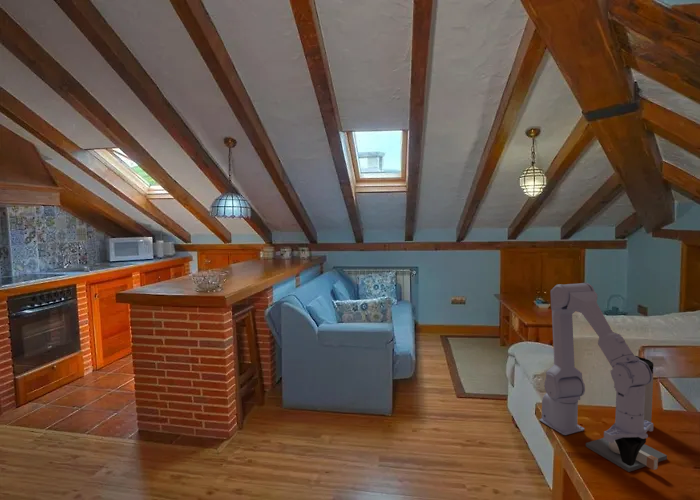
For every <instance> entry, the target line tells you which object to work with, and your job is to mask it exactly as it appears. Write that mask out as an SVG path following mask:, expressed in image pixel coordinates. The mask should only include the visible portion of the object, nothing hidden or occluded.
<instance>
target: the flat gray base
mask: <svg viewBox="0 0 700 500" xmlns="http://www.w3.org/2000/svg"><path fill="white" fill-rule="evenodd" d="M585 448H588V449H589V450H591V451H593V452H594V453H596V454H598V455H599V456H601V457H602V458H604V459H606V460H607V461H609V462H611V463H612V464H615V465H616V466H617V467H619V468H621V469H623V470H625V471H626V472H628V473H630V472H633V471H635V470H640V469H642V468H644V467H647V466H646V465H644V464H642V463H641V462H639V461H637V460H635V463H634V465H632V466H629V465H627V464H625V463H623V462H622V459H621V455H620V454H617V453H615V452H613V451H611V450H610V449H609V442H608V441H606V440H605V439H604V437H602V438H599V439H596V440H591V441H588V442H585ZM640 450H641V451H643V452H645V453H647V454H649V455H652V456H654V457H656V458H658V463H660V462H663V461H666V460H668V455H667V454H665V453H663V452H661V451H659V450H657V449H656V448H653V447H652V446H649V445H647V444H646V443H645V444H644V445H643V446H642V447H641V449H640Z"/></svg>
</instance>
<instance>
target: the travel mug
mask: <svg viewBox="0 0 700 500" xmlns="http://www.w3.org/2000/svg"><path fill="white" fill-rule="evenodd" d="M635 356H636V357H638V358H639V359H640V360H642V361H644V362H645V363H646V364H648V366H649V368H650V370H651V372H652V380H651V382H650V383H649V384H647V385H642V386H645V406H644V420H647V421H649V422H651V423H652V418H653V417H652V416H653V415H652V413H653V412H652V410H653V390H654V388H653V387H654V385H653V384H654V362H653V361H651V360H650V359H647V358H644V357H641V356H640V357H639V355H635Z"/></svg>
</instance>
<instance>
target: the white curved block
mask: <svg viewBox="0 0 700 500" xmlns="http://www.w3.org/2000/svg"><path fill="white" fill-rule="evenodd" d="M609 449H610V450H611V451H613V452H615V453H617V454H620V451H619V448H618V446H617V444H616V442H615V440H614V443H610V442H609ZM636 460H637V461H639V462H641V463H642V464H644V465H646V466H645V467H647V468H649V469H651V470H653V471H654V470H655V471H656V470H657V469H659V462H658V458H656V457H654V456H652V455H649V454H647V453H645V452H643V451H641V450H640V451H639V453H638V455H637V458H636Z"/></svg>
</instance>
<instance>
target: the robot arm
mask: <svg viewBox="0 0 700 500" xmlns="http://www.w3.org/2000/svg"><path fill="white" fill-rule="evenodd" d="M597 300H598V293H596V291H595V289H594V287H593V286H592V285H591V284H590V283H588V282H581V283H567V284H562V283H561V284H560V283H559V284H558V283H557V284H556V285H554V287H552V289H550V310H551V325H552V344H553V365H552V366H551V367H550V368H549V369H547V370H546V372H545V380H544V383H543V384H544V390H545V394H543V397H542V399H541V418H539V421H540V422H541V423H543V424H544V425H546V426H548V427H550V428H551V429H552V430H555V431H556V432H558V433H559V434H561V435H563V436H568V435H571V434H575V433H579V432H583V431H585V427H583V426H581V425H579V424H578V418H579V417H578V413H579V411H578V410H579V408H578V407H579V401H580V400H581V397H582V396H584V395H585V392H586V385H585V382H584V379H583V373H582V372H581V371H580V370H579V369H578V368H576V367H575V350H574V349H575V348H574V325H573V315H574V313H575V312H576V313H580V314H581V315H583V317H584V318H585V320H586V321H587V322H588V324H589V325H590V327H591V328H592V330H593V331H594V332H595V333H596V334H597V337H598V340H597V345H598V346H599V348H600V350H601V352H602V353H603V355H604V356H605V359H606V360H607V362H608V363H609V364H610V366H611V368H612V370H611V369H610V376H611V379H612V381H613V382H614V383H613V384H614V386H613V387H614V389H615V419H614V420H615V421H614V423H613V424H612V425H611V426H610V427H609V428H608V429H607V430H604V431H603V438H604V439H605V440H606V441H608V442H610V443H614V440H615V442H616V444H617V446H618V448H619V451H620V455H621V459H622V462H623V463H625V464H627V465H629V466H632V465H634V463H635V460H636V458H637V455H638V453H639V451H640V449H641V447H642V446H643V445H644V444H645V445H646V444H647V438H649V435H648V433H647V432H653V431H654V423H653V422H652V421H651V422H649V421H647V420H644V406H645V386H642V385H647V384H649V383H650V382H651V380H652V372H651V370H650V368H649V366H648V364H646V363H645V362H644V361H642V360H640V359H639V358H638V357H639V356H638V357H636V356H637V355H634V352H633V351H632V350H631V347H629V345H628V344H627V343H626V341H625V340H626V339H625V338H624V337H623V336H622V335H621V334H620V333H617V332H614V331H613V330H612V328H611V327H610V324H609V322H608V321H607V319H606V317H605V315H604V313H603V311H602V310H601V307H600V305H599V304H598V301H597Z"/></svg>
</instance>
